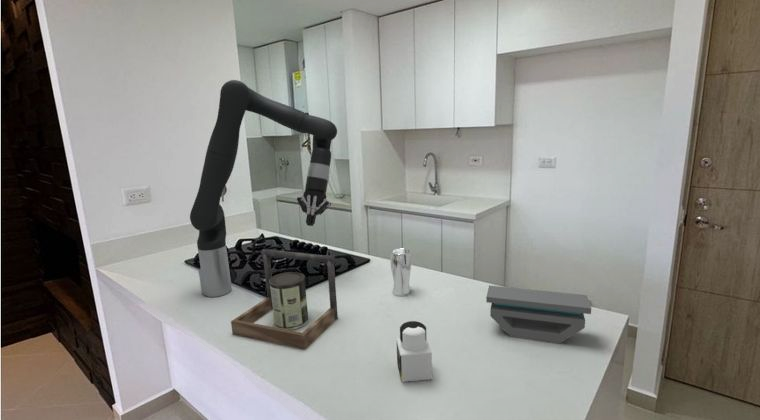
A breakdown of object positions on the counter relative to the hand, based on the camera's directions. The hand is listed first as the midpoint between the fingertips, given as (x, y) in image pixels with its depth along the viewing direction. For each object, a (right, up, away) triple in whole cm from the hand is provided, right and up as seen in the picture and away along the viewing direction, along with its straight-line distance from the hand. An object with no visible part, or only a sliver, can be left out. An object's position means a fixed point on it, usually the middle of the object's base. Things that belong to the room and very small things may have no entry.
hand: (309, 225), depth 138 cm
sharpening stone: (+67, -28, -32) cm, 79 cm away
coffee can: (-2, -28, -20) cm, 35 cm away
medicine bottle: (+33, -33, -46) cm, 66 cm away
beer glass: (+32, -23, -3) cm, 40 cm away
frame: (-3, -29, -22) cm, 36 cm away
